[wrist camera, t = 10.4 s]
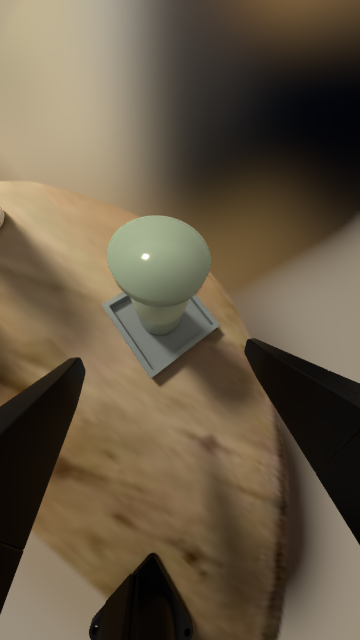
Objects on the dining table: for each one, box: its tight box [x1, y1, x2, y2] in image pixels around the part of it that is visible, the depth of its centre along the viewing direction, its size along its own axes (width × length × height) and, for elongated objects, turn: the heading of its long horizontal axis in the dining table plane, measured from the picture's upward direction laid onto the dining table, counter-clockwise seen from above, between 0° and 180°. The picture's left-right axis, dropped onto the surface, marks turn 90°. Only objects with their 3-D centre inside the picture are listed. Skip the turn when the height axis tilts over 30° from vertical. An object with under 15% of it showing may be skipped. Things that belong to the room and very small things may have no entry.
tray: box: [101, 292, 220, 379], centre depth 21 cm, size 11×11×2 cm
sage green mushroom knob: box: [107, 216, 211, 335], centre depth 16 cm, size 7×7×12 cm
